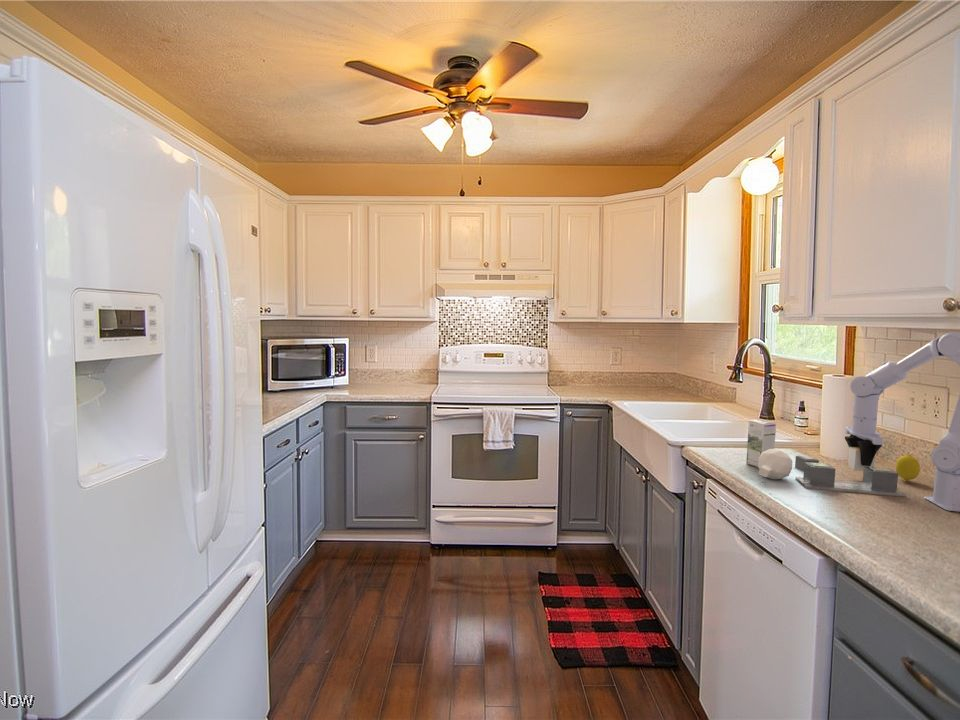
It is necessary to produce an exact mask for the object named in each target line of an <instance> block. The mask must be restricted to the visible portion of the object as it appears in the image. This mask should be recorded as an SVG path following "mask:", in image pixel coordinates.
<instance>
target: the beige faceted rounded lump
mask: <svg viewBox="0 0 960 720" xmlns="http://www.w3.org/2000/svg"><path fill="white" fill-rule="evenodd" d="M757 468H758V469H759V470H758V472H757V473H758V475H760V476H762V477H765V478H768V479H770V480H781V479H783V478H787V477H788V476H790V474H791V472H792V470H793V459H792V458H791V457H790V454H788V453H787V452H785V451H784V450H781V449H779V448H775V449H768V450H766V451H764V452H762V453H761V455H760V457H759V459H758V467H757Z"/></svg>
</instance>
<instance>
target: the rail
mask: <svg viewBox="0 0 960 720" xmlns="http://www.w3.org/2000/svg"><path fill="white" fill-rule="evenodd" d="M836 469H837V468H835V467H834V466H832V465H831V464H829V463H822V462H819V463H811V462H804V472H803V475H802V477H800V476H799V477H798V476H795V480H794V481H796V482H797V483H799V484H800V485H801V486H802V487H803V488H805V489H807V490H818V491H820V490H821V491H832V492H844V493H857V494H868V495H880V496H893V497H903V498H904V497H907V493H906V492H904V491H902V490H900V489H899V488H898V481H899V475H898V473H897V472H896V470H895V471H894V470H892V469H891V468H889V467H878V466H877V467H876V466H874V467H865V466H864V471H862V472H863V473H862V481H861V482H860V481H848V480H836Z"/></svg>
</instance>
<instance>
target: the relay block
mask: <svg viewBox="0 0 960 720" xmlns="http://www.w3.org/2000/svg"><path fill="white" fill-rule="evenodd" d="M804 462H811V463H820V460H819V459H817V458H815V457H812V456H810V455H795V461H794V463H795V464H794V469H796V470H799V471H801V472H803V473H804Z"/></svg>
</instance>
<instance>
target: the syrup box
mask: <svg viewBox="0 0 960 720" xmlns="http://www.w3.org/2000/svg"><path fill="white" fill-rule="evenodd" d="M776 433H777V422H775V421H771V420H765V419H761V418H755V419H749V420H748V428H747V446H746V465H749V466H752V467H755V468H758V459H759V457H760V455H761V453H762V452H764V451H766V450H768V449H776V448H775V446H776Z"/></svg>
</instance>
